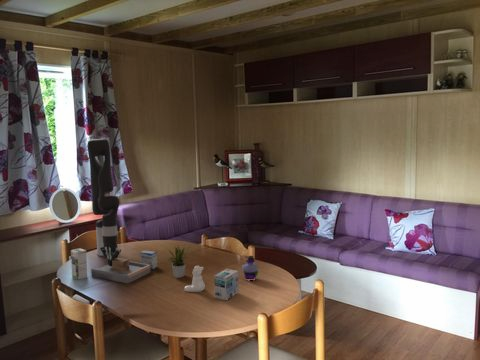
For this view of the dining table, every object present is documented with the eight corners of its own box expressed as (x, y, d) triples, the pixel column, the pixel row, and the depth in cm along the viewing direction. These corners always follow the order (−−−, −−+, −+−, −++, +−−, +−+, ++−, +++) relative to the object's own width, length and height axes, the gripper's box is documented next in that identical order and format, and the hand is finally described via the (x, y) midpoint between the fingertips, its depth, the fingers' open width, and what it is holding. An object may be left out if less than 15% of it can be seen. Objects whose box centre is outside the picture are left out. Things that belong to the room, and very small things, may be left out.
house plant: (200, 275, 224) (200, 245, 222) (179, 283, 214) (178, 251, 212) (182, 269, 234) (182, 239, 232) (162, 276, 224) (161, 245, 222)
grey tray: (116, 265, 241) (115, 258, 241) (150, 272, 230) (150, 264, 230) (91, 276, 225) (91, 268, 225) (127, 283, 215) (127, 275, 214)
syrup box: (71, 277, 223) (70, 250, 221) (82, 274, 228) (81, 247, 226) (77, 280, 219) (75, 252, 217) (88, 277, 224) (86, 249, 222)
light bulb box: (226, 301, 193) (226, 277, 191) (214, 298, 196) (213, 275, 195) (239, 293, 202) (239, 270, 200) (227, 290, 205) (226, 268, 204)
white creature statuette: (196, 284, 212) (196, 261, 211) (210, 288, 207) (210, 264, 206) (183, 291, 205) (182, 266, 203) (197, 295, 200) (196, 269, 198)
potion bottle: (257, 283, 214) (257, 259, 212) (240, 281, 215) (240, 258, 214) (260, 276, 222) (260, 254, 221) (243, 275, 224) (243, 253, 222)
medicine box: (140, 267, 238) (139, 252, 237) (145, 265, 242) (144, 249, 241) (152, 269, 235) (152, 253, 234) (157, 266, 239) (156, 251, 238)
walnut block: (119, 266, 232) (118, 257, 231) (129, 268, 229) (128, 259, 228) (112, 269, 227) (111, 260, 227) (122, 271, 224) (122, 262, 223)
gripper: (124, 233, 228) (125, 265, 231) (105, 230, 234) (106, 261, 237) (114, 237, 222) (115, 269, 224) (95, 233, 227) (96, 265, 230)
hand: (111, 265), depth 230 cm, fingers closed
